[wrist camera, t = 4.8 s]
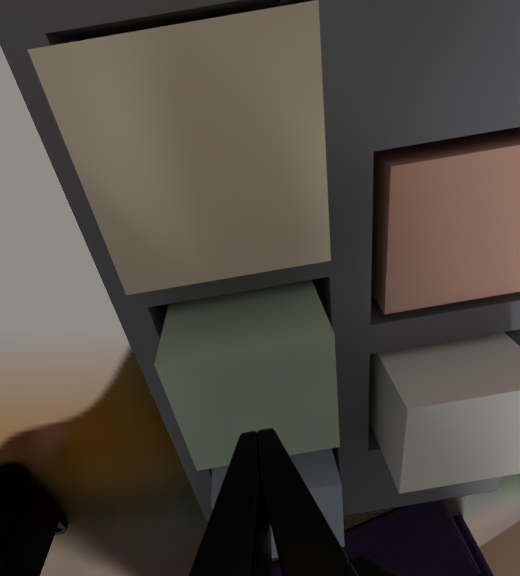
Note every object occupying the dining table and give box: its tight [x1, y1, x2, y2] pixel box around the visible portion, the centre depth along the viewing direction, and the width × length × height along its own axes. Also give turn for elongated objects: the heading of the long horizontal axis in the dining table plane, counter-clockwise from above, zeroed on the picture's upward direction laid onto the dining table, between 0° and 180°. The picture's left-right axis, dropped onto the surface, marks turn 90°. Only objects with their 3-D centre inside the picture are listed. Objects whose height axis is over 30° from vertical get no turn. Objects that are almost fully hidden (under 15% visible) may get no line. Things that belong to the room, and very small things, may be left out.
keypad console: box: [0, 0, 520, 523], centre depth 13 cm, size 19×21×4 cm
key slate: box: [211, 448, 345, 559], centre depth 14 cm, size 4×4×3 cm
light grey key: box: [370, 332, 520, 494], centre depth 13 cm, size 4×4×3 cm
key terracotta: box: [371, 127, 520, 314], centre depth 11 cm, size 4×4×3 cm
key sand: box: [28, 0, 331, 295], centre depth 8 cm, size 4×4×3 cm
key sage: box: [154, 280, 340, 471], centre depth 11 cm, size 4×4×3 cm
